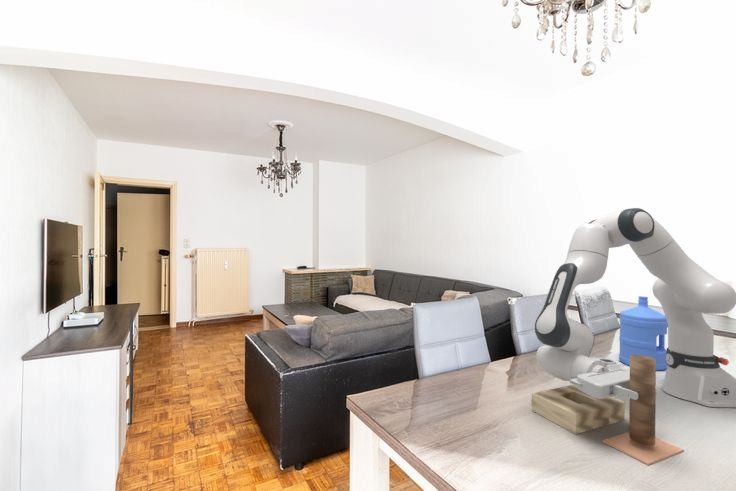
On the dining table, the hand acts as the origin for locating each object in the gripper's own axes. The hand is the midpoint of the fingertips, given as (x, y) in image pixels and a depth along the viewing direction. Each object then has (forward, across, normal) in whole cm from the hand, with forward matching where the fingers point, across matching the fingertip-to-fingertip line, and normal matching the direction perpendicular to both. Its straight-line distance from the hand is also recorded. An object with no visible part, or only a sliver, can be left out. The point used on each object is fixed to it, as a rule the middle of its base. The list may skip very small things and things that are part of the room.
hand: (646, 394), depth 84 cm
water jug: (-38, +66, +13) cm, 77 cm away
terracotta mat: (-1, 0, +13) cm, 13 cm away
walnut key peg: (-1, 0, +12) cm, 12 cm away
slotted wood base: (-18, 0, +13) cm, 22 cm away
